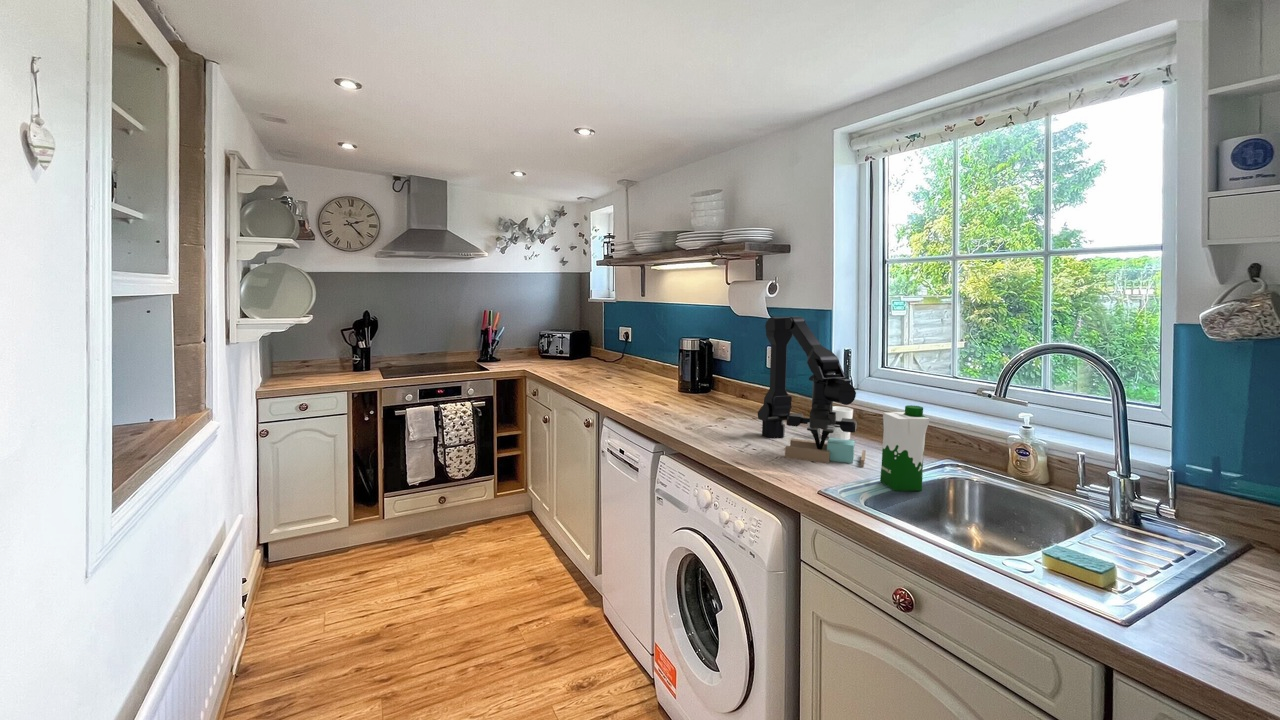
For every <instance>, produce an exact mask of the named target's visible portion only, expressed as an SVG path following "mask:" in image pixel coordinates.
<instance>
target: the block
mask: <svg viewBox="0 0 1280 720" xmlns="http://www.w3.org/2000/svg"><path fill="white" fill-rule="evenodd" d="M826 443H827V451H830V461H829V462H840V463H849V464H853V462H854V458H855V446H856V440H851V439H849V440H844V439H835V438H829V437H828V440H827V441H826Z"/></svg>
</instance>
